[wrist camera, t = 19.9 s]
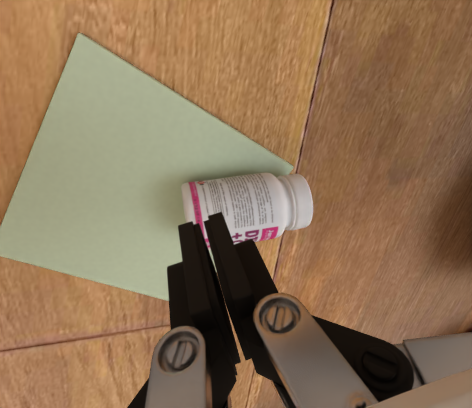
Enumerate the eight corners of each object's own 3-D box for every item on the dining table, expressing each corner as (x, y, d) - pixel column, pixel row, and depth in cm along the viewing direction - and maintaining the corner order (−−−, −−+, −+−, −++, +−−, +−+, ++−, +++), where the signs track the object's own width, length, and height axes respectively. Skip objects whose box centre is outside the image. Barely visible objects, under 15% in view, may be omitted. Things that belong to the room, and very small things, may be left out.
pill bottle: (192, 259, 18) (321, 235, 19) (179, 180, 17) (310, 162, 19) (189, 248, 22) (293, 229, 24) (180, 186, 22) (284, 171, 24)
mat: (-7, 248, 21) (-11, 253, 20) (80, 32, 16) (78, 32, 16) (190, 302, 28) (190, 307, 28) (291, 164, 23) (294, 167, 23)
